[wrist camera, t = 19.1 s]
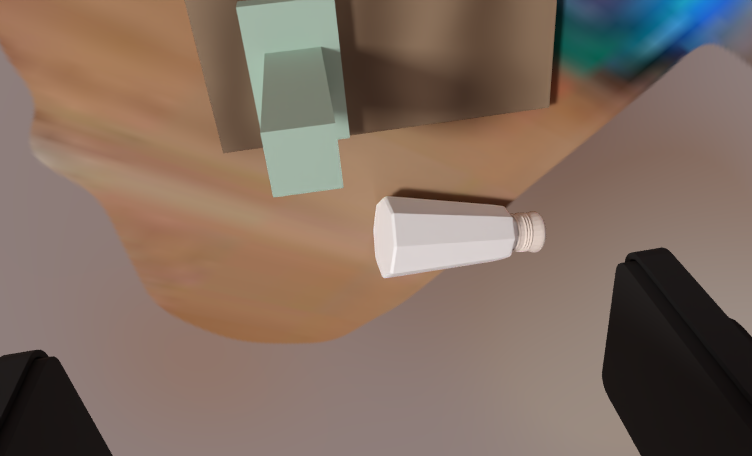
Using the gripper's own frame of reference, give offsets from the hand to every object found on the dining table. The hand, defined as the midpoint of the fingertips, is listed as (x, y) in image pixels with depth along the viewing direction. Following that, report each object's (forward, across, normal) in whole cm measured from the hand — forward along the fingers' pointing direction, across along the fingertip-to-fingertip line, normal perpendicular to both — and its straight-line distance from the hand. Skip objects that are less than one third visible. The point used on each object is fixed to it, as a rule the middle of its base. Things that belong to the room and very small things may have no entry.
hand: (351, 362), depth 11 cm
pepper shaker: (+25, -2, +15) cm, 29 cm away
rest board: (+28, -4, +2) cm, 28 cm away
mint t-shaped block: (+27, +1, +4) cm, 27 cm away
